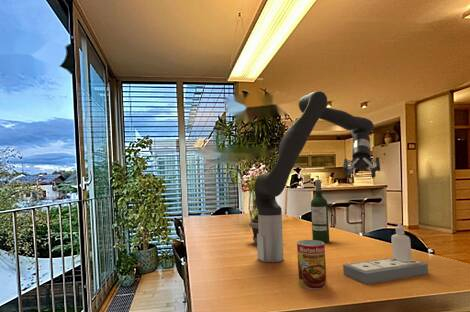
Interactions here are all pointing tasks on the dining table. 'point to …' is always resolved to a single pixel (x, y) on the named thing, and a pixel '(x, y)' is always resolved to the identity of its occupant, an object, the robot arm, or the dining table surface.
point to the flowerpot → (255, 228)
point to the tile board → (384, 270)
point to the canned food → (311, 264)
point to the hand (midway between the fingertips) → (361, 177)
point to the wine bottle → (319, 215)
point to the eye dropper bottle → (401, 245)
